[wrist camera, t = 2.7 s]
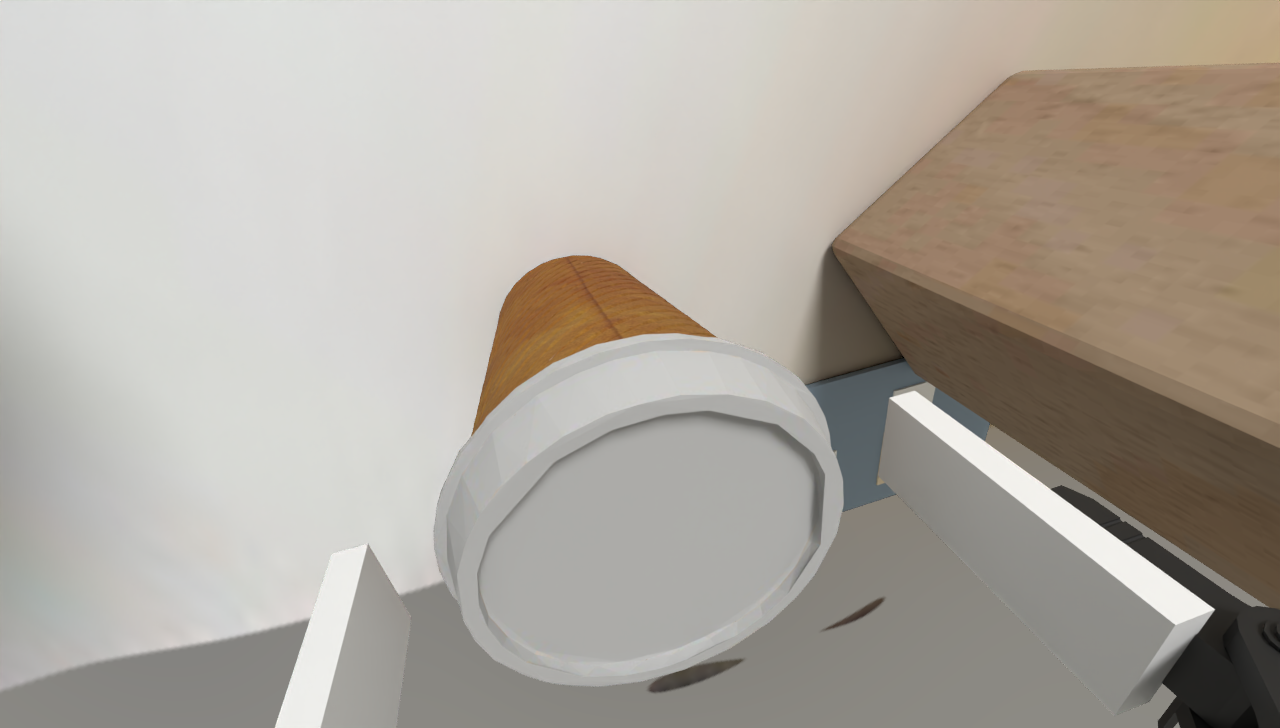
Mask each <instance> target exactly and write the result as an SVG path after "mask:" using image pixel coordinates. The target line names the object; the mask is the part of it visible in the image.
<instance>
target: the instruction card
mask: <svg viewBox="0 0 1280 728" xmlns="http://www.w3.org/2000/svg"><path fill="white" fill-rule="evenodd" d="M805 386H806V387H807V388H808V390H809V391H810V392H811V393H812V394H813V396H814V397H815V398H816V400H817V402H818V404H819V406H820V408H821V410H822V412H823V413H824V415H825V418H826V422H827V425H828V429H829V433H830V443H831V448H832V450H833V452H834V454H835V456H836V458H837V460H838V464H839V467H840V471H841V474H842V478H843V499H844V506H843V510H842V512H844V511H847V510H850V509H853V508H856V507H859V506H863V505H865V504H868V503H872V502H874V501H878V500H881V499H884V498H887V497H890V496H893V495H896V493H895V492H894V491H893V490H892V489H891V488H890V487H889V486H888V485H887V484H886V483H885V482H884V481H883V480H882V479H881V478H880V477H879V476H878V473H879V466H880V459H881V452H882V445H883V438H884V431H885V424H886V417H887V409H888V402H889V398H890V397H894V396H897V395H901V394H905V393H908V392H912V391H916V392H917V393H919V394H920V395H922V396H923V397H924V398H926V399H927V400H928V401H930V402H931V403H932V404H934V405H935V406H937V407H938V408H939V409H941V410H942V411H943V412H945V413H946V414H948V415H949V416H950V417H952V418H953V419H954V420H956V421H957V422H959V423H960V424H961V425H963V426H964V427H965V428H967V429H968V430H970V431H971V432H972V433H974V434H975V435H976V436H978V437H979V438H980V439H982V440H983V441H985V438H986V435H987V432H988V428H989V425H990V423H989V422H988V421H986V420H985V419H983V418H981V417H980V416H978V415H977V414H975V413H974V412H972V411H971V410H969V409H968V408H966V407H965V406H963V405H962V404H960V403H959V402H957V401H956V400H954V399H953V398H951V397H950V396H948V395H947V394H945V393H944V392H942V391H941V390H939V389H938V388H936V387H934V386H933V385H931V384H930V383H928V382H927V381H925V380H924V379H922V378H921V377H919V376H918V375H916V374H915V373H914V371H913V370H912V368H911V367H910V366H909V364H908V363H907V361H906V360H905V358H902V359H899V360H895V361H892V362H888V363H884V364H881V365H877V366H873V367H870V368H866V369H863V370H859V371H855V372H852V373H848V374H845V375H841V376H837V377H834V378H830V379H827V380H823V381H819V382H816V383H812V384H809V385H805Z"/></svg>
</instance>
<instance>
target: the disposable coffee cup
mask: <svg viewBox="0 0 1280 728" xmlns="http://www.w3.org/2000/svg"><path fill="white" fill-rule="evenodd" d="M843 506H844V499H843V478H842V474H841V471H840V467H839V464H838V460H837V458H836V456H835V454H834V452H833V450H832V448H831V443H830V433H829V429H828V425H827V422H826V418H825V415H824V413H823V412H822V410H821V408H820V406H819V404H818V402H817V400H816V398H815V397H814V396H813V394H812V393H811V392H810V391H809V390H808V388H807V387H806V386H805V385H804V383H803V382H802V381H801V380H800V378H799V377H798V376H796V375H795V374H794V373H792V372H791V371H790V370H788V369H787V368H785V367H784V366H782V365H781V364H779V363H778V362H776V361H775V360H773V359H772V358H770V357H768V356H767V355H765V354H764V353H762V352H759V351H756V350H753V349H750V348H747V347H744V346H741V345H738V344H735V343H732V342H729V341H726V340H723V339H720V338H717V337H716V336H714V335H713V334H711V333H710V332H709V331H708V330H706V329H705V328H703V327H702V326H700V324H698V323H697V322H695V321H694V320H692V319H691V318H690V317H688V316H687V315H685V314H684V313H682V312H681V311H680V310H678V309H677V308H675V307H674V306H673V305H671V304H670V303H669V302H667V301H666V300H665V299H664V298H662V297H661V296H659V295H658V294H656V293H655V292H654V291H652V290H651V289H649V288H648V287H647V286H645V285H644V284H642V283H641V282H640V281H638V280H637V279H636V278H634V277H633V276H631V275H630V274H629V273H628V272H627V271H625V270H624V269H622V268H621V267H620V266H618V265H616V264H614V263H611V262H609V261H606V260H604V259H601V258H597V257H592V256H568V257H563V258H558V259H553V260H551V261H548V262H546V263H543V264H541V265H539V266H537V267H536V268H534V269H533V270H531V271H529V272H528V273H527V274H526V275H524V276H523V277H522V278H521V279H520V280H519V281H518V282H517V283H516V284H515V285H514V287H513V288H512V290H511V291H510V292H509V294H508V295H507V297H506V299H505V301H504V304H503V306H502V309H501V312H500V315H499V321H498V326H497V330H496V333H495V338H494V342H493V347H492V351H491V354H490V358H489V363H488V368H487V372H486V377H485V381H484V384H483V389H482V393H481V397H480V402H479V406H478V410H477V415H476V419H475V423H474V428H473V432H472V435H471V438H470V439H469V440H468V441H467V442H466V444H465V445H464V446H463V447H462V448H461V450H460V451H459V453H458V455H457V457H456V459H455V462H454V464H453V466H452V468H451V470H450V472H449V475H448V477H447V479H446V481H445V483H444V486H443V488H442V490H441V493H440V497H439V501H438V504H437V510H436V518H435V525H434V549H435V553H436V558H437V563H438V567H439V571H440V573H441V575H442V577H443V579H444V581H445V583H446V585H447V587H448V589H449V591H450V593H451V595H452V596H453V597H454V598H455V599H456V601H457V602H458V603H459V606H460V610H461V613H462V618H463V621H464V623H465V625H466V626H467V628H468V630H469V631H470V633H471V635H472V636H473V638H474V640H475V641H476V642H477V644H478V645H480V646H481V647H482V648H483V649H484V650H485V651H486V652H487V653H488V654H489V655H490V656H491V657H492V658H493V659H494V660H495V661H497V662H499V663H501V664H503V665H505V666H507V667H509V668H511V669H513V670H514V671H516V672H518V673H520V674H522V675H524V676H528V677H531V678H534V679H537V680H541V681H544V682H547V683H554V684H562V685H569V686H599V687H602V686H610V685H618V684H626V683H635V682H642V681H646V680H649V679H653V678H656V677H660V676H663V675H667V674H670V673H674V672H677V671H681V670H684V669H687V668H689V667H691V666H693V665H695V664H698V663H700V662H702V661H704V660H706V659H708V658H711V657H713V656H715V655H717V654H719V653H721V652H724V651H726V650H728V649H730V648H731V647H733V646H734V645H736V644H737V643H739V642H740V641H742V640H743V639H745V638H747V637H748V636H750V635H751V634H753V633H754V632H756V631H757V630H758V629H760V628H762V627H763V626H764V625H766V624H768V623H769V622H770V621H771V620H772V619H773V618H775V616H777V615H778V614H779V613H780V612H781V611H782V610H783V609H784V608H785V607H786V606H787V605H789V604H790V603H791V602H792V601H793V600H794V599H795V598H796V597H797V596H798V595H799V594H800V592H801V591H802V590H803V589H804V588H805V586H806V585H807V584H808V582H809V581H810V580H811V579H812V578H813V577H814V575H815V574H816V572H817V570H818V568H819V566H820V565H821V563H822V561H823V559H824V557H825V555H826V553H827V551H828V550H829V548H830V546H831V544H832V542H833V540H834V538H835V536H836V535H837V531H838V528H839V523H840V519H841V514H842V510H843Z"/></svg>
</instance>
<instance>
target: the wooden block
mask: <svg viewBox="0 0 1280 728" xmlns="http://www.w3.org/2000/svg"><path fill="white" fill-rule="evenodd" d="M832 249H833V252H834V254H835V256H836V257H837V259H838V260H839V262H840V263H841V265H842V266H843V268H844V269H845V271H846V272H847V274H848V275H849V277H850V278H851V280H852V281H853V283H854V284H855V285H856V287H857V288H858V290H859V291H860V293H861V294H862V296H863V297H864V299H865V300H866V302H867V303H868V305H869V306H870V308H871V309H872V311H873V312H874V314H875V315H876V317H877V318H878V320H879V321H880V323H881V324H882V325H883V327H884V328H885V330H886V331H887V333H888V334H889V336H890V337H891V339H892V340H893V342H894V343H895V345H896V346H897V348H898V349H899V351H900V352H901V354H902V355H903V357H904V358H905V360H906V361H907V363H908V364H909V366H910V367H911V368H912V370H913V371H914V373H915V374H916V375H918V376H919V377H921V378H922V379H924V380H925V381H927V382H928V383H930V384H931V385H933V386H934V387H936V388H938V389H939V390H941V391H942V392H944V393H945V394H947V395H948V396H950V397H951V398H953V399H954V400H956V401H957V402H959V403H960V404H962V405H963V406H965V407H966V408H968V409H969V410H971V411H972V412H974V413H975V414H977V415H978V416H980V417H981V418H983V419H985V420H986V421H988V422H989V423H991V424H992V425H994V426H995V427H997V428H998V429H1000V430H1001V431H1003V432H1004V433H1006V434H1007V435H1009V436H1010V437H1012V438H1013V439H1015V440H1016V441H1018V442H1019V443H1021V444H1022V445H1024V446H1025V447H1027V448H1028V449H1030V450H1032V451H1033V452H1035V453H1036V454H1038V455H1039V456H1041V457H1042V458H1044V459H1045V460H1047V461H1048V462H1050V463H1051V464H1053V465H1054V466H1056V467H1057V468H1059V469H1060V470H1062V471H1063V472H1065V473H1066V474H1068V475H1069V476H1071V477H1072V478H1074V479H1075V480H1077V481H1078V482H1080V483H1082V484H1083V485H1085V486H1086V487H1088V488H1089V489H1091V490H1092V491H1094V492H1095V493H1097V494H1098V495H1100V496H1101V497H1103V498H1104V499H1106V500H1107V501H1109V502H1110V503H1112V504H1113V505H1115V506H1116V507H1118V508H1119V509H1121V510H1122V511H1124V512H1125V513H1127V514H1129V515H1130V516H1132V517H1133V518H1135V519H1136V520H1138V521H1139V522H1141V523H1142V524H1144V525H1145V526H1147V527H1148V528H1150V529H1151V530H1153V531H1154V532H1156V533H1157V534H1159V535H1160V536H1162V537H1163V538H1165V539H1166V540H1168V541H1169V542H1171V543H1173V544H1174V545H1176V546H1177V547H1179V548H1180V549H1182V550H1183V551H1185V552H1186V553H1188V554H1189V555H1191V556H1192V557H1194V558H1195V559H1197V560H1198V561H1200V562H1201V563H1203V564H1204V565H1206V566H1207V567H1209V568H1210V569H1212V570H1213V571H1215V572H1216V573H1218V574H1220V575H1221V576H1223V577H1224V578H1226V579H1227V580H1229V581H1230V582H1232V583H1233V584H1235V585H1236V586H1238V587H1239V588H1241V589H1242V590H1244V591H1245V592H1247V593H1248V594H1250V595H1251V596H1253V597H1254V598H1256V599H1257V600H1259V601H1261V602H1262V603H1264V604H1265V605H1266V606H1268V607H1269V608H1277V609H1280V63H1257V64H1225V65H1194V66H1162V67H1130V68H1098V69H1067V70H1035V71H1022V72H1019V73H1016V74H1014V75H1012V76H1011V77H1009V78H1007V79H1006V80H1005V81H1004V82H1003V83H1002V84H1001V85H1000V86H999V87H998V88H997V89H996V90H994V91H993V92H992V93H991V94H990V95H989V96H988V97H987V98H986V99H985V100H984V101H983V102H982V103H980V104H979V105H978V106H977V107H976V108H975V109H974V110H973V111H972V112H971V113H970V114H969V115H968V116H967V117H965V118H964V119H963V120H962V121H961V122H960V123H959V124H958V125H957V126H956V127H955V128H954V129H953V130H951V131H950V132H949V133H948V134H947V135H946V136H945V137H944V138H943V139H942V140H941V141H940V142H939V143H938V144H936V145H935V146H934V147H933V148H932V149H931V150H930V151H929V152H928V153H927V154H926V155H925V156H924V157H922V158H921V159H920V160H919V161H918V162H917V163H916V164H915V165H914V166H913V167H912V168H911V169H910V170H909V171H907V172H906V173H905V174H904V175H903V176H902V177H901V178H900V179H899V180H898V181H897V182H896V183H895V184H893V185H892V186H891V187H890V188H889V189H888V190H887V191H886V192H885V193H884V194H883V195H882V196H881V197H880V198H878V199H877V200H876V201H875V202H874V203H873V204H872V205H871V206H870V207H869V208H868V209H867V210H866V211H864V212H863V213H862V214H861V215H860V216H859V217H858V218H857V219H856V220H855V221H854V222H853V223H852V224H851V225H849V226H848V227H847V228H846V229H845V230H844V231H843V232H842V233H841V234H840V235H839V236H838V237H837V238H836V239H835V240H834V242H833V244H832Z"/></svg>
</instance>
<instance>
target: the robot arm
mask: <svg viewBox="0 0 1280 728" xmlns="http://www.w3.org/2000/svg"><path fill="white" fill-rule="evenodd" d="M878 476H879V477H880V478H881V479H882V480H883V481H884V482H885V483H886V484H887V485H888V486H889V487H890V488H891V489H892V490H893V491H894V492H895V493H896V494H897V496H898V497H900V499H901V500H903V502H905V504H906V505H907V506H908V507H909V508H910V509H911V510H912V511H913V512H914V513H915V514H916V515H917V516H918V517H919V518H920V519H921V520H922V521H923V522H924V523H925V524H926V525H927V526H928V527H929V528H930V529H931V530H932V531H933V532H934V533H935V534H936V535H937V536H938V537H939V538H940V539H941V540H942V541H943V542H944V543H945V544H946V545H947V546H948V547H949V548H950V549H951V550H952V551H953V552H954V553H955V554H956V555H957V556H958V557H959V558H960V559H961V561H963V562H964V563H965V565H967V566H968V567H969V569H970V570H971V571H972V572H973V573H974V574H975V575H976V576H977V577H978V578H979V579H980V580H981V581H982V582H983V583H984V584H985V585H986V586H988V588H989V589H990V590H991V591H992V592H993V593H994V594H995V595H996V596H997V597H998V598H999V599H1000V600H1001V601H1002V602H1003V603H1004V604H1005V605H1006V606H1007V607H1008V608H1009V609H1010V610H1011V611H1012V612H1013V613H1014V614H1015V615H1016V616H1017V617H1018V618H1019V619H1020V620H1021V621H1022V622H1023V624H1025V626H1026V627H1028V629H1029V630H1030V631H1031V632H1032V633H1033V634H1034V635H1035V636H1036V637H1037V638H1038V639H1039V640H1040V641H1041V642H1042V643H1043V644H1044V645H1045V646H1046V647H1047V648H1048V649H1049V650H1050V651H1051V652H1052V653H1053V654H1054V655H1055V656H1056V657H1057V658H1058V659H1059V660H1060V661H1061V662H1062V663H1063V664H1064V665H1065V666H1066V667H1067V668H1068V669H1069V670H1070V671H1071V672H1072V673H1073V674H1074V675H1075V676H1076V677H1077V678H1078V679H1079V680H1080V681H1081V682H1082V683H1083V684H1084V685H1085V686H1086V687H1087V689H1088V690H1090V692H1092V693H1093V695H1094V696H1095V697H1097V699H1098V700H1099V701H1100V702H1101V703H1102V704H1103V705H1104V706H1105V707H1106V708H1107V709H1108V710H1109V711H1110V712H1111V713H1112V714H1113V715H1114V716H1116V715H1118V714H1121V713H1123V712H1126V711H1128V710H1131V709H1133V708H1135V707H1138V706H1140V705H1143V704H1145V703H1147V702H1149V701H1150V700H1151V698H1152V697H1153V695H1154V694H1155V693H1156V691H1157V690H1158V688H1159V687H1160V686H1161V684H1162V683H1163V684H1164V685H1165V686H1166V687H1167V688H1169V689H1170V690H1171V691H1172V692H1173V693H1174V694H1175V695H1176V696H1177V697H1176V698H1175V699H1174V701H1173V702H1172V703H1171V705H1170V706H1169V707H1168V709H1167V710H1166V711H1165V713H1164V714H1163V715H1162V717H1161V718H1160V719H1159V720H1158V728H1173V727H1174V726H1175V725H1176V724H1177V722H1179V725H1180V728H1280V609H1277V608H1268V607H1260V606H1256V607H1251V606H1249V605H1247V604H1245V603H1243V602H1242V601H1240V600H1239V599H1237V598H1235V597H1234V596H1232V595H1231V594H1229V593H1228V592H1226V591H1225V590H1223V589H1222V588H1221V587H1219V586H1218V585H1216V584H1215V583H1213V582H1212V581H1210V580H1209V579H1208V578H1206V577H1205V576H1203V575H1202V574H1200V573H1199V572H1197V571H1196V570H1195V569H1193V568H1192V567H1190V566H1189V565H1187V564H1186V563H1184V562H1183V561H1182V560H1180V559H1179V558H1177V557H1176V556H1174V555H1173V554H1172V553H1170V552H1169V551H1167V550H1166V549H1164V548H1163V547H1161V546H1160V545H1159V544H1157V543H1156V542H1154V541H1153V540H1151V539H1150V538H1148V537H1147V538H1145V537H1143V535H1142V533H1141V532H1140V531H1138V530H1137V529H1136V528H1134V527H1133V526H1131V525H1130V524H1128V523H1127V522H1122V521H1121V520H1120V517H1118V516H1117V515H1115V514H1114V513H1112V512H1111V511H1110V510H1108V509H1107V508H1105V507H1104V506H1102V505H1101V504H1099V503H1098V502H1096V501H1095V500H1094V499H1092V498H1090V497H1087V496H1085V495H1083V494H1080V493H1078V492H1076V491H1074V490H1071V489H1069V488H1067V487H1064V486H1062V485H1061V486H1058V487H1055V488H1052V489H1049V488H1047V487H1046V486H1045V485H1044V484H1042V483H1041V482H1039V481H1038V480H1037V479H1035V478H1034V477H1033V476H1031V475H1030V474H1028V473H1027V472H1025V471H1024V470H1023V469H1022V468H1020V467H1019V466H1017V465H1016V464H1015V463H1013V462H1012V461H1011V460H1009V459H1008V458H1006V457H1005V456H1004V455H1002V454H1001V453H999V452H998V451H997V450H995V449H994V448H993V447H991V446H990V445H989V444H987V443H986V442H985V441H983V440H982V439H980V438H979V437H978V436H976V435H975V434H974V433H972V432H971V431H970V430H968V429H967V428H965V427H964V426H963V425H961V424H960V423H959V422H957V421H956V420H954V419H953V418H952V417H950V416H949V415H948V414H946V413H945V412H943V411H942V410H941V409H939V408H938V407H937V406H935V405H934V404H932V403H931V402H930V401H928V400H927V399H926V398H924V397H923V396H922V395H920V394H919V393H917V392H916V391H912V392H908V393H905V394H901V395H897V396H894V397H890V398H889V402H888V409H887V417H886V424H885V431H884V438H883V445H882V452H881V459H880V466H879V473H878ZM411 620H412V618H411V616H410V614H409V612H408V611H407V609H406V607H405V605H404V604H403V602H402V601H401V599H400V597H399V595H398V594H397V592H396V590H395V589H394V587H393V585H392V583H391V582H390V580H389V578H388V577H387V575H386V573H385V572H384V570H383V568H382V566H381V565H380V563H379V561H378V560H377V558H376V556H375V555H374V553H373V551H372V550H371V548H370V546H369V544H364V545H361V546H357V547H354V548H350V549H347V550H343V551H339V552H336V553H332V555H331V558H330V561H329V564H328V567H327V570H326V573H325V576H324V579H323V582H322V585H321V588H320V591H319V595H318V598H317V601H316V604H315V607H314V610H313V613H312V616H311V619H310V622H309V625H308V628H307V631H306V634H305V638H304V641H303V643H302V646H301V649H300V653H299V656H298V659H297V662H296V665H295V668H294V671H293V674H292V677H291V680H290V683H289V686H288V689H287V692H286V695H285V699H284V701H283V704H282V708H281V710H280V714H279V717H278V720H277V723H276V726H275V728H396V727H397V719H398V712H399V705H400V698H401V691H402V684H403V677H404V669H405V662H406V656H407V649H408V641H409V634H410V627H411Z"/></svg>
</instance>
